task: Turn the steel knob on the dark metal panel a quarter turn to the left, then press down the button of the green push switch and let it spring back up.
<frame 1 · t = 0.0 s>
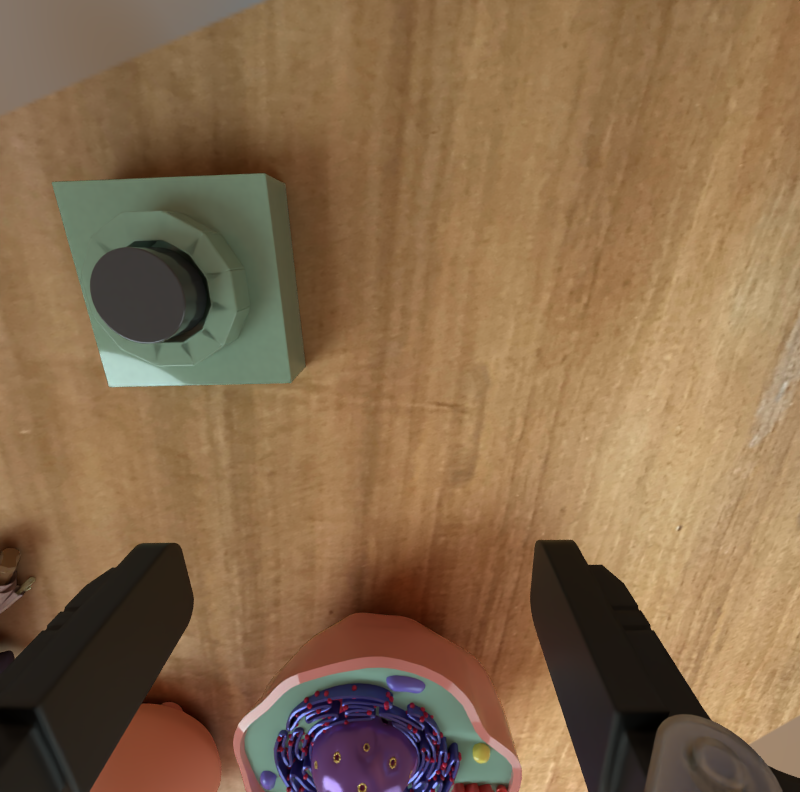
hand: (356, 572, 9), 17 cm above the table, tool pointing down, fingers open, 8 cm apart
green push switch: (209, 284, 24), on the table
cell model: (388, 655, 33), on the table
sugar bowl: (170, 737, 37), on the table
button: (151, 294, 18), point 6 cm above the table, slide at 0.1 cm
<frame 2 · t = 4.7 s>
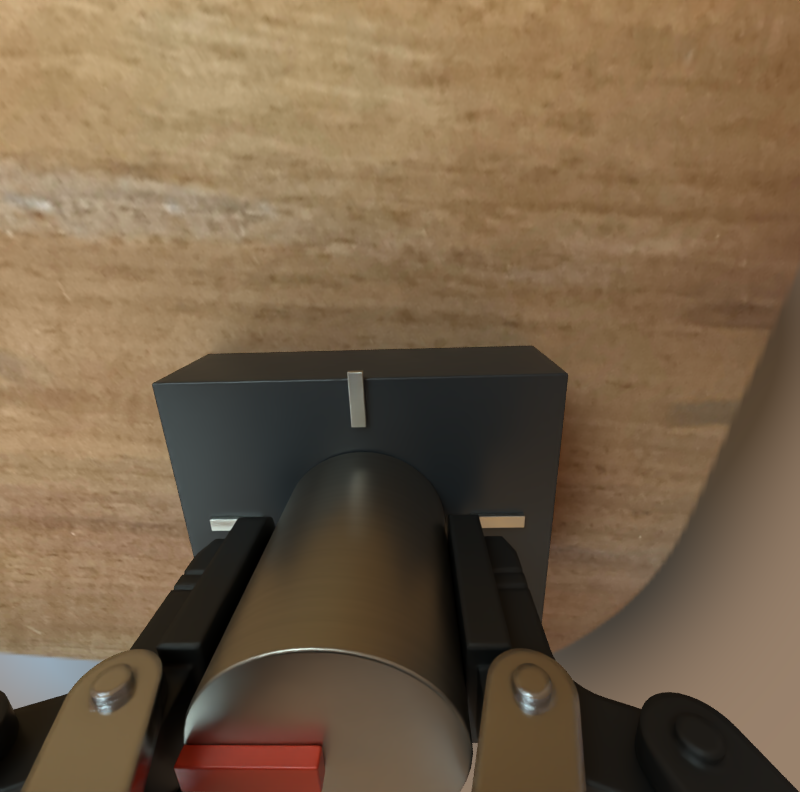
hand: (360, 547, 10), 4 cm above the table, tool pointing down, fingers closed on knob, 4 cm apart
knob: (351, 609, 8), point 6 cm above the table, hinge at 0.1°, touching gripper
panel: (375, 465, 14), on the table
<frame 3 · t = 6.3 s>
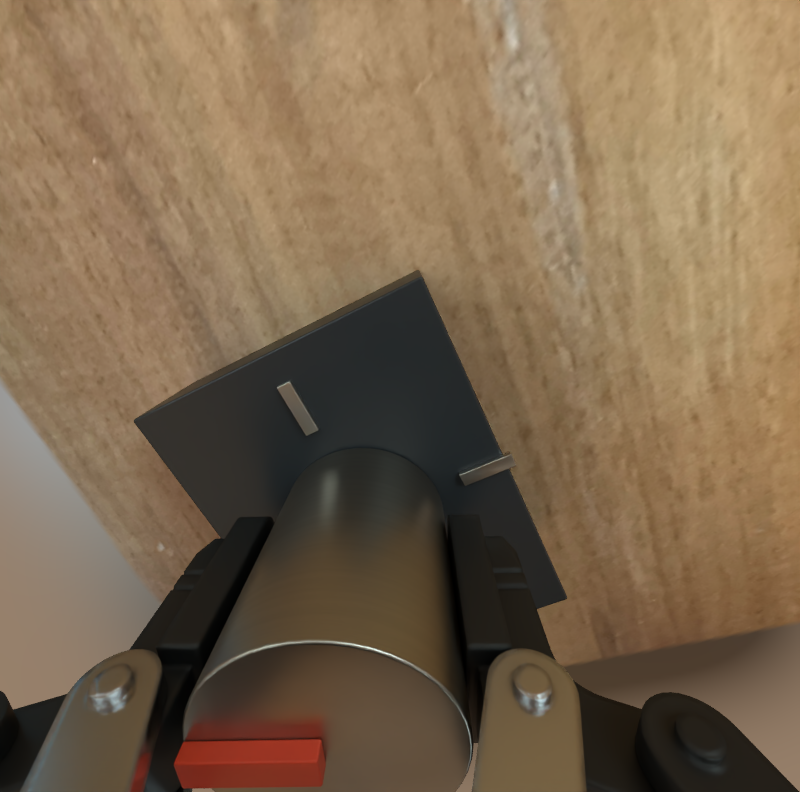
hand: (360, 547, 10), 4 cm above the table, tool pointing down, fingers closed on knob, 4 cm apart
knob: (351, 604, 8), point 6 cm above the table, hinge at 67.6°, touching gripper
panel: (374, 462, 14), on the table
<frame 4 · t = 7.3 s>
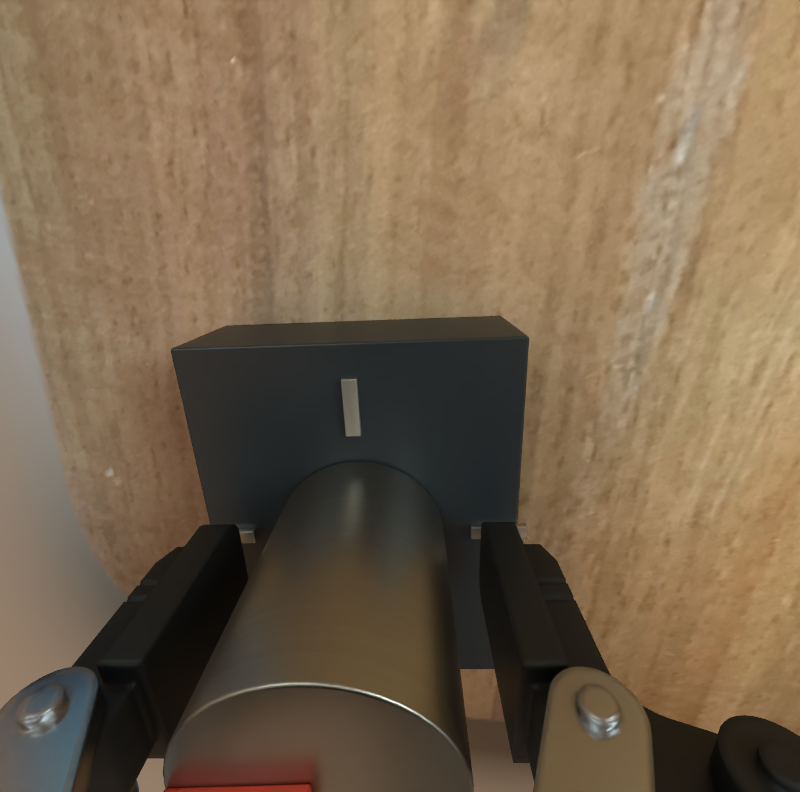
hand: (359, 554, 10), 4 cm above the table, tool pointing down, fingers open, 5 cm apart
knob: (345, 629, 8), point 6 cm above the table, hinge at 93.0°
panel: (372, 473, 14), on the table
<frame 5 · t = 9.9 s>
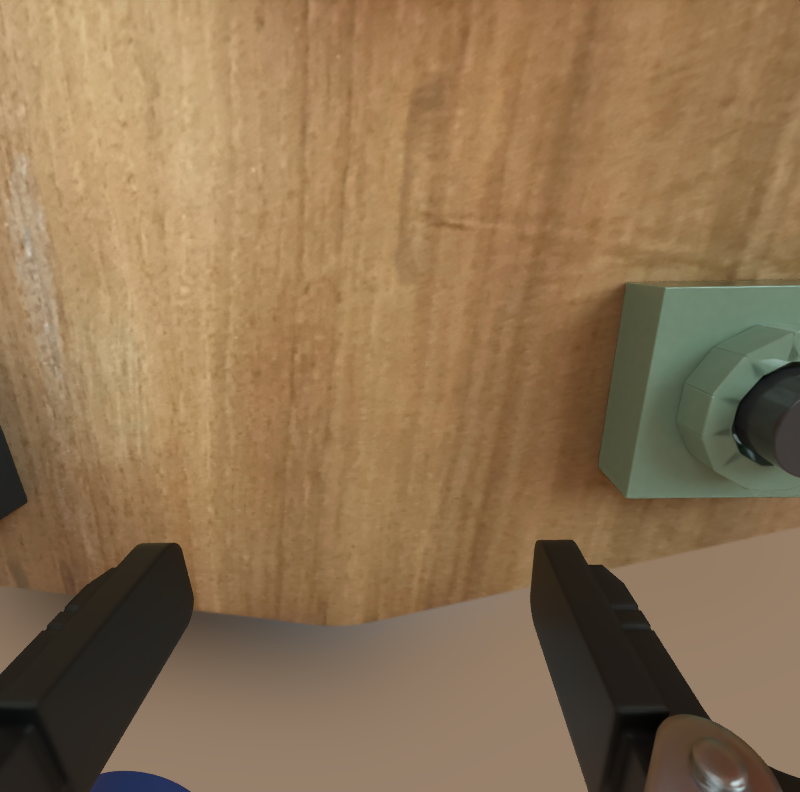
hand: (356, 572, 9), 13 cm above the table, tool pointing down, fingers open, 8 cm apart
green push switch: (707, 380, 22), on the table
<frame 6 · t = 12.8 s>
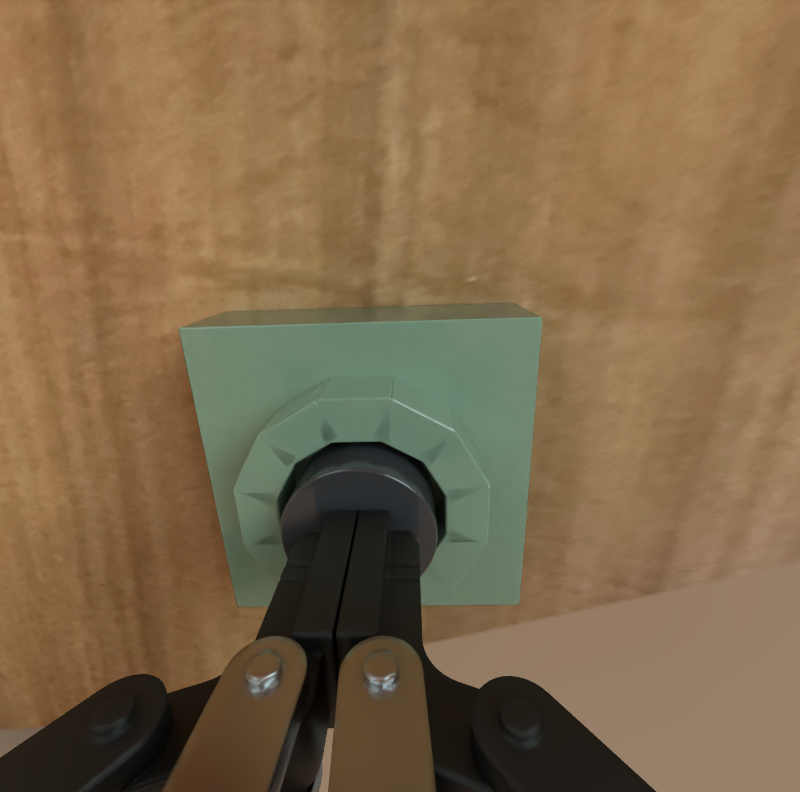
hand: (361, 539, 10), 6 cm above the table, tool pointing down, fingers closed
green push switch: (376, 438, 16), on the table
button: (362, 514, 11), point 5 cm above the table, slide at -0.7 cm, touching gripper
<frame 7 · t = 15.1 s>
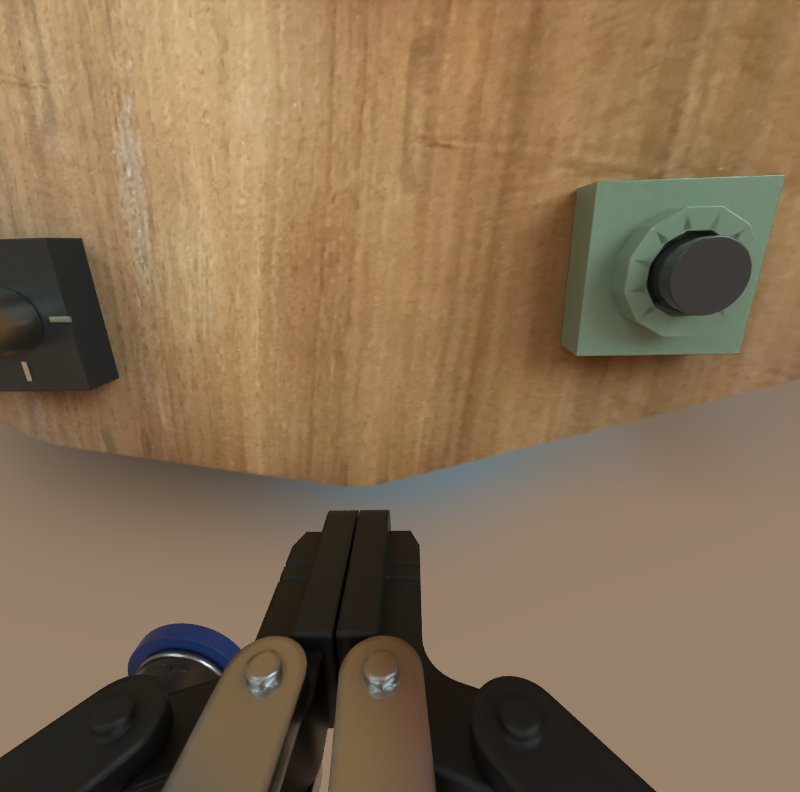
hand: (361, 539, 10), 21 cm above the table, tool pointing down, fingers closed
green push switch: (645, 269, 28), on the table
button: (698, 275, 22), point 6 cm above the table, slide at 0.1 cm
panel: (49, 313, 30), on the table
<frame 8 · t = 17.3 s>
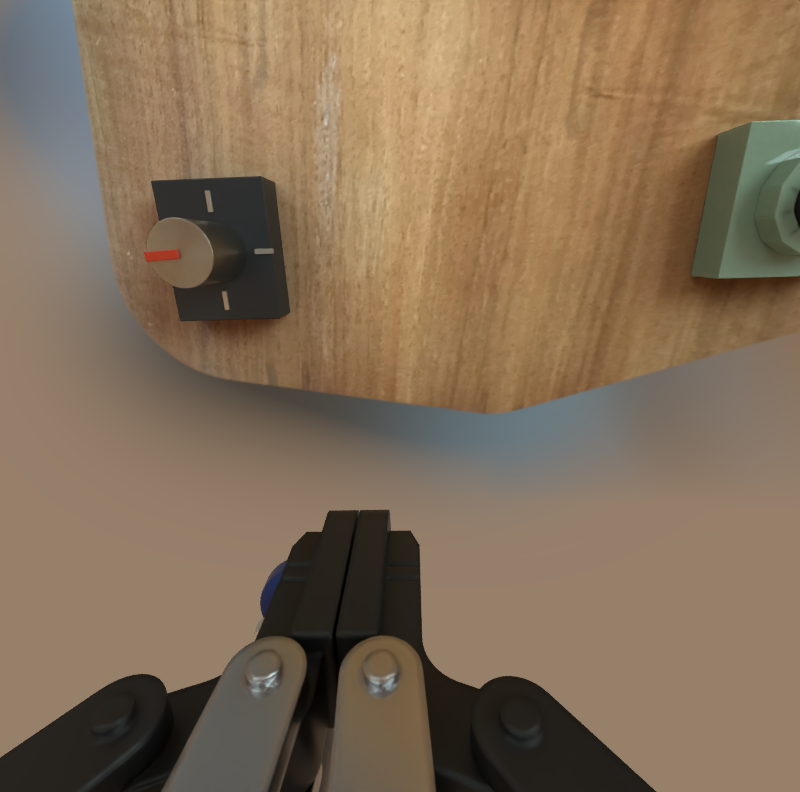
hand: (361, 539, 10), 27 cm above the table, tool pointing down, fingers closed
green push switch: (770, 206, 32), on the table
knob: (199, 253, 28), point 6 cm above the table, hinge at 93.0°
panel: (234, 252, 34), on the table
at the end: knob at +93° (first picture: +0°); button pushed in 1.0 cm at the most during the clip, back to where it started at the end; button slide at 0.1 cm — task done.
